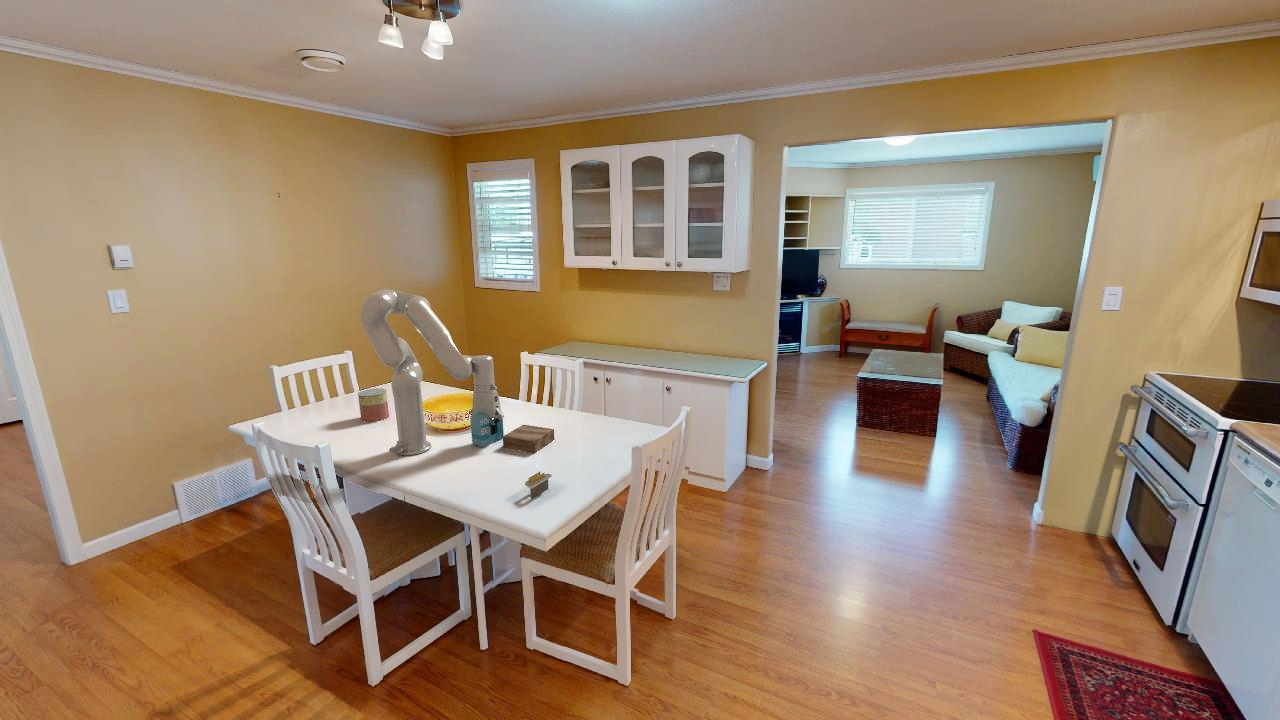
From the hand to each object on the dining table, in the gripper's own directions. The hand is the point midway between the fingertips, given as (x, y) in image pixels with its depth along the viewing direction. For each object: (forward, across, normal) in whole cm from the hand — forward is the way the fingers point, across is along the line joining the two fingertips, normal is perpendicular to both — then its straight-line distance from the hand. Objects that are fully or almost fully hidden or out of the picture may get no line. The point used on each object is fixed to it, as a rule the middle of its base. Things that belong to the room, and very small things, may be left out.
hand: (487, 432), depth 214 cm
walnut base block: (+4, -16, -4) cm, 17 cm away
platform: (+5, -40, +30) cm, 50 cm away
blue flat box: (+4, 0, 0) cm, 4 cm away
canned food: (+4, +63, -6) cm, 63 cm away
